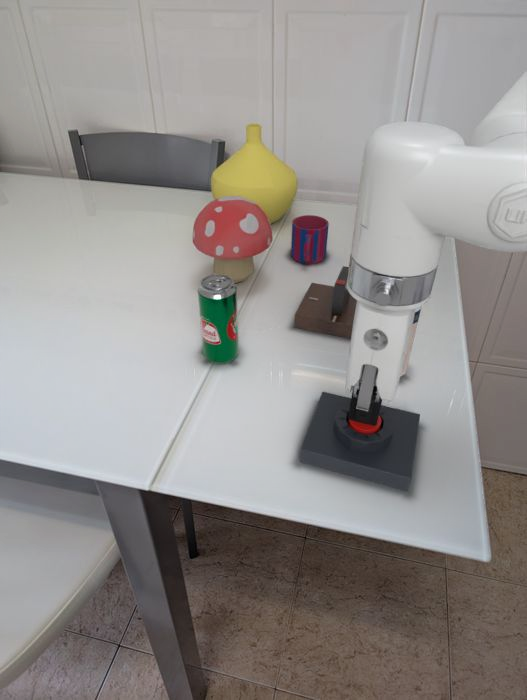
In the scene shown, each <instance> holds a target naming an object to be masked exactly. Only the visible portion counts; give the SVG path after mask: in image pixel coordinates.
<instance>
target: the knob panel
mask: <svg viewBox="0 0 527 700" xmlns="http://www.w3.org/2000/svg"><path fill="white" fill-rule="evenodd" d="M333 293H334V285H327V284H322V283H316V282H311V284H310V285H309V287H308V289H307V291H306V293H305V294H304V296H303V299H302V300H301V302H300V304H299V306H298V308H297V310H296V312H295V313H294V325H293V327H294V328H296V329H302V330H306V331H311V332H315V333H321V334H327V335H331V336H336V337H341V338H345V339H350V340H351V335H352V328H353V322H354V315H355V309H356V303H357V300H356V299H355V298H353V297H352V296H351V295H350V296H349V298H348V301H347V303H346V305H345V308H344V310H343V313H342V315H339V314H334V313H331V312H332V302H333Z"/></svg>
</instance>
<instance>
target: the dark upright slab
mask: <svg viewBox="0 0 527 700" xmlns="http://www.w3.org/2000/svg"><path fill="white" fill-rule="evenodd" d="M348 271H349V266H344V265H342V268H341V269H340V271H339V274H338V275H337V278H336V280H335V282H334V285H333V286H334V293H333V302H332V312H331V313H334V314H339V315H342V313H343V310H344V308H345V305H346V303H347V301H348V298H349V296H350V293H349V292H348V289H347V278H348Z"/></svg>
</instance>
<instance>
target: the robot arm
mask: <svg viewBox="0 0 527 700" xmlns="http://www.w3.org/2000/svg"><path fill="white" fill-rule="evenodd" d="M446 237H449V238H452V239H455V240H458V241H461V242H464V243H468V244H471V245H473V246H477V247H480V248H482V249H483V248H484V249H487V250H491V251H496V252H501V253H511V254H513V253H514V254H515V253H527V69H526V70H525V71H524V73H522V75H521V76H520V77H519V78H518V79H517V80H516V81H515V82H514V83H513V85H512V86H510V88H509V89H508V90H507V91H506V92H505V93H504V95H503V96H502V97H501V98H500V99H499V100H498V101H497V102H496V104H495V105H494V106H492V108H491V109H490V110H489V112H488V113H487V114H486V115H485V116H484V118H483V119H482V120H481V121H480V122H479V123H478V124H477V126H476V127H474V129H473V131H472V132H471V134H470V135H469V136H468V138H467V139H466V142H465V140H464V139H463V137H462V136H461V135H460V134H459V133H458V132H457V131H456V130H453V129H451V128H449V127H448V126H447V127H446V126H444V125H441V124H436V123H431V122H423V121H397V122H389V123H386V124H383V125H381V126H378V127H377V128H375V129H374V130H373V131H372V132H371V134H369V136H368V138H367V140H366V142H365V145H364V149H363V156H362V162H361V170H360V179H359V185H358V193H357V202H356V209H355V216H354V227H353V233H352V239H351V250H350V256H349V263H348V267H349V271H348V278H347V289H348V292H349V293H350V295H351V296H352V297H353V298H355V299H356V300H357V303H356V309H355V315H354V322H353V328H352V335H351V339H350V344H349V350H348V360H347V367H346V377H345V388H346V390H347V391H348V392H349V393H351V397H350V398H351V403H350V409H349V415H348V418H349V419H350V420H352V421H356V422H360V423H364V424H368V425H372V426H375V425H377V421H378V417H379V413H380V408H381V405H382V403H383V401H387V402H393V400H395V399H396V396H397V393H398V387H399V384H400V379H401V377H400V375H401V371H402V367H403V363H404V359H405V355H406V350H407V346H408V342H409V338H410V334H411V329H412V325H413V320H414V315H415V309H416V308H419V307H421V306H422V307H423V306H424V305H426V304H427V303H428V302H429V300H430V298H431V295H432V291H433V287H434V282H435V279H436V275H437V271H438V267H439V262H440V259H441V255H442V250H443V248H444V243H445V240H446Z"/></svg>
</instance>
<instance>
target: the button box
mask: <svg viewBox="0 0 527 700" xmlns="http://www.w3.org/2000/svg"><path fill="white" fill-rule="evenodd" d="M350 403H351V397H350V396H349V397H348V396H344V395H339V394H336V393H331V392H327V391H322V392H321V394H320V397H319V399H318V402H317V404H316V408H315V410H314V413H313V416H312V418H311V421H310V424H309V426H308V429H307V432H306V435H305V437H304V439H303V442H302V445H301V448H300V456H299V462H300V463H302V464H306V465H308V466H314V467H316V468H321V469H324V470H328V471H332V472H334V473H335V472H336V473H339V474H343V475H345V476H350V477H354V478H357V479H361V480H364V481H368V482H371V483H375V484H379V485H381V486H386V487H390V488H393V489H398V490H401V491H404V492H409V488H410V485H411V483H412V482H411V481H412V477H413V470H414V463H415V456H416V455H415V454H416V449H417V440H418V434H419V433H418V432H419V426H420V418H421V413H418V412H417V413H416V412H413V411H408V410H405V409H399V408H397V407H396V408H395V407H391V406H388V405H383V404H381V408H380V413H379V415H380V417H381V426H380V430H379V431H378V432H377V433H373V434H363V433H359V432H356V431H354V430H353V429H352V428H350V427H349V425H348V419H349V418H348V415H349V409H350Z"/></svg>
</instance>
